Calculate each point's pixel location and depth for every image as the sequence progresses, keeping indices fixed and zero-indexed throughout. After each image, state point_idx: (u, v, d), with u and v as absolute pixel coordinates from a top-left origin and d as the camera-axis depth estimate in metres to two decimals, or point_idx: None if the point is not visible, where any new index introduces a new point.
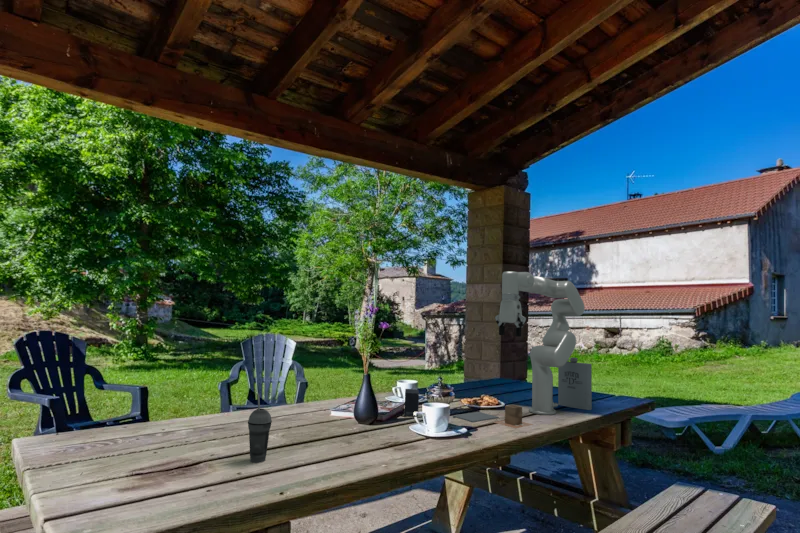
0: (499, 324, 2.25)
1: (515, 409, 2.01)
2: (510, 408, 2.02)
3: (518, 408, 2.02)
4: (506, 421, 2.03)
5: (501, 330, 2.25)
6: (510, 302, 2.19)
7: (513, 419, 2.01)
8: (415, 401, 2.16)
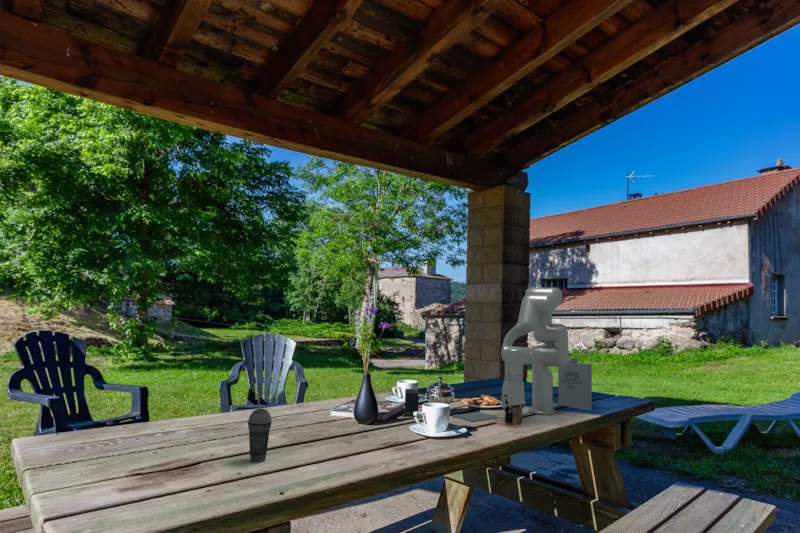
0: (510, 410, 2.01)
1: (515, 409, 2.01)
2: None
3: (518, 408, 2.02)
4: None
5: None
6: (521, 382, 2.04)
7: (513, 419, 2.01)
8: (416, 401, 2.16)
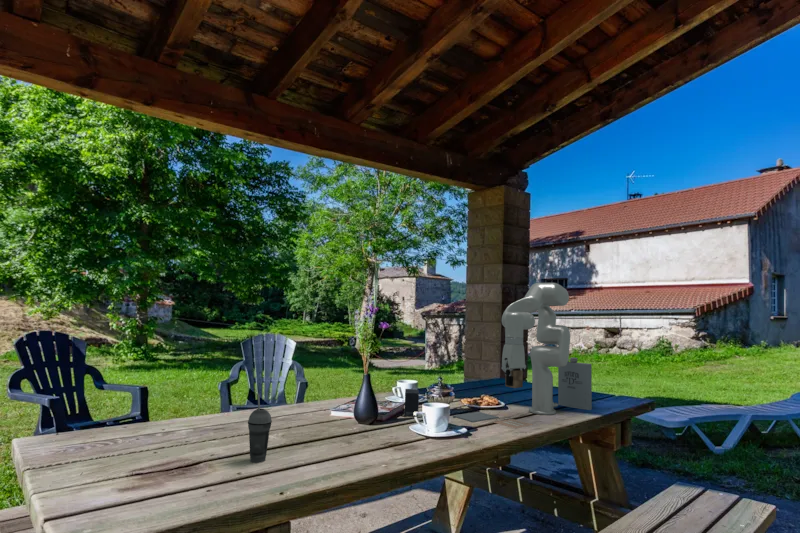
0: (511, 373, 2.02)
1: (515, 372, 2.02)
2: None
3: (518, 371, 2.04)
4: None
5: None
6: (521, 346, 2.06)
7: (513, 382, 2.02)
8: (415, 401, 2.16)
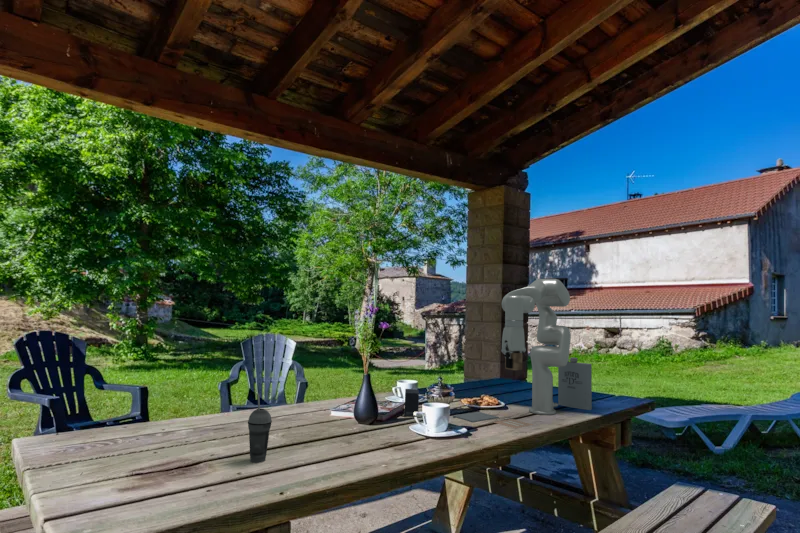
0: (511, 356, 2.03)
1: (515, 355, 2.03)
2: None
3: (518, 354, 2.04)
4: None
5: None
6: (521, 329, 2.06)
7: (513, 364, 2.03)
8: (416, 401, 2.16)
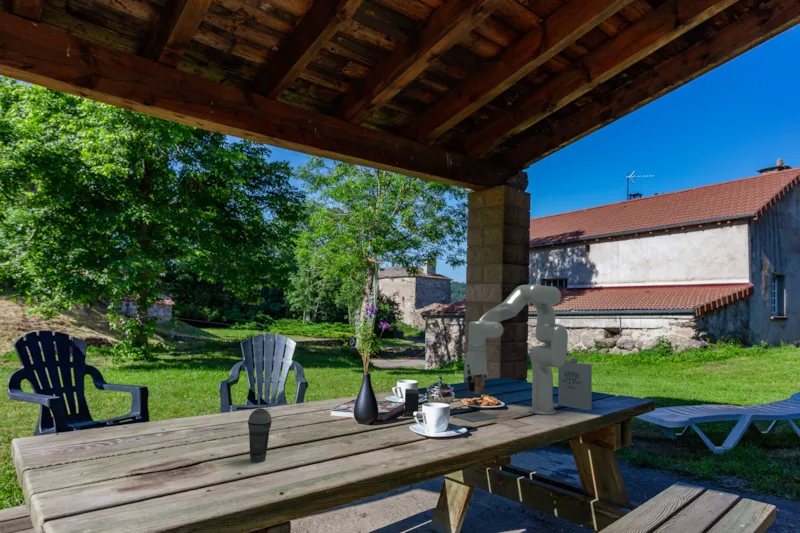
0: (472, 380, 2.11)
1: (477, 378, 2.11)
2: None
3: (480, 378, 2.12)
4: None
5: None
6: (483, 354, 2.14)
7: (475, 388, 2.11)
8: (415, 401, 2.16)
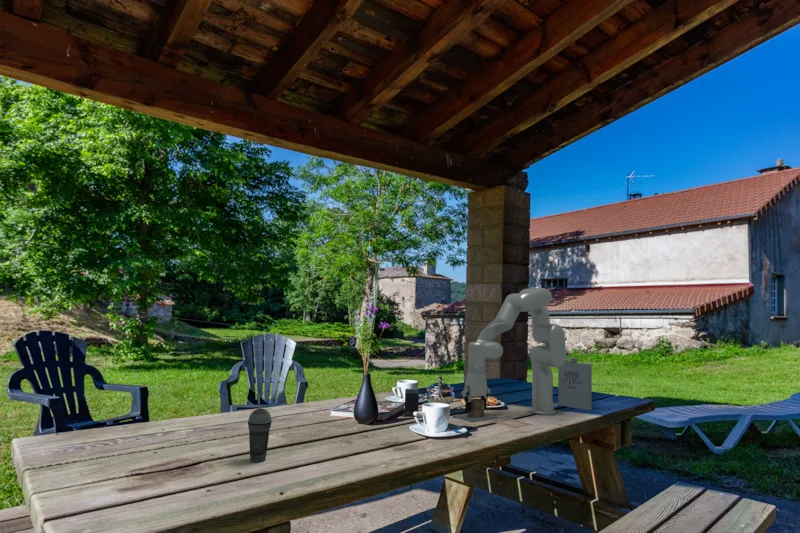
0: (470, 400, 2.09)
1: (477, 402, 2.10)
2: (472, 402, 2.12)
3: (480, 401, 2.12)
4: (469, 414, 2.13)
5: None
6: (483, 375, 2.14)
7: (475, 412, 2.10)
8: (415, 401, 2.16)
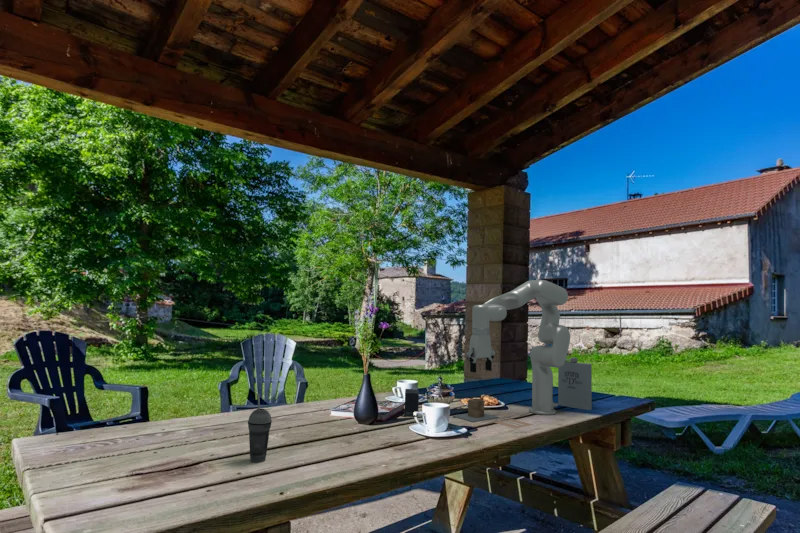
0: (474, 361, 2.12)
1: (477, 402, 2.10)
2: (472, 402, 2.12)
3: (480, 401, 2.12)
4: (469, 414, 2.13)
5: None
6: (488, 337, 2.16)
7: (475, 412, 2.10)
8: (415, 401, 2.16)
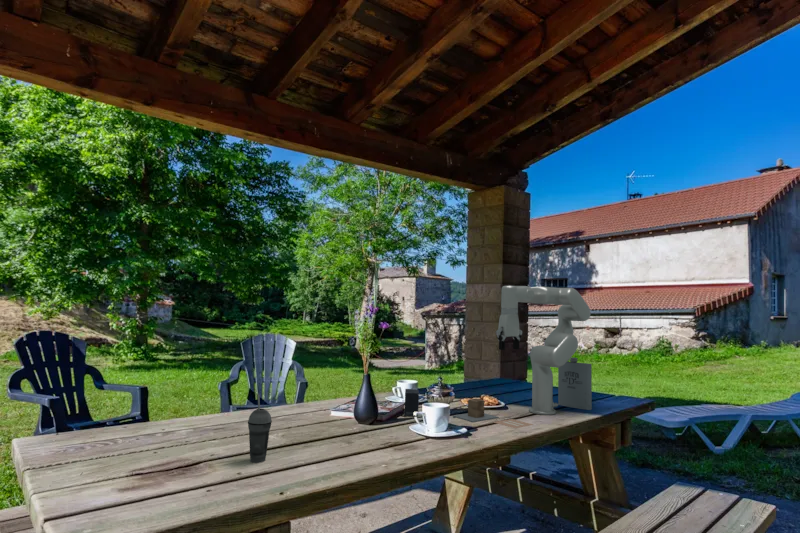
0: (503, 339, 2.20)
1: (477, 402, 2.10)
2: (472, 402, 2.12)
3: (480, 401, 2.12)
4: (469, 414, 2.13)
5: None
6: (516, 316, 2.24)
7: (475, 412, 2.10)
8: (415, 401, 2.16)
